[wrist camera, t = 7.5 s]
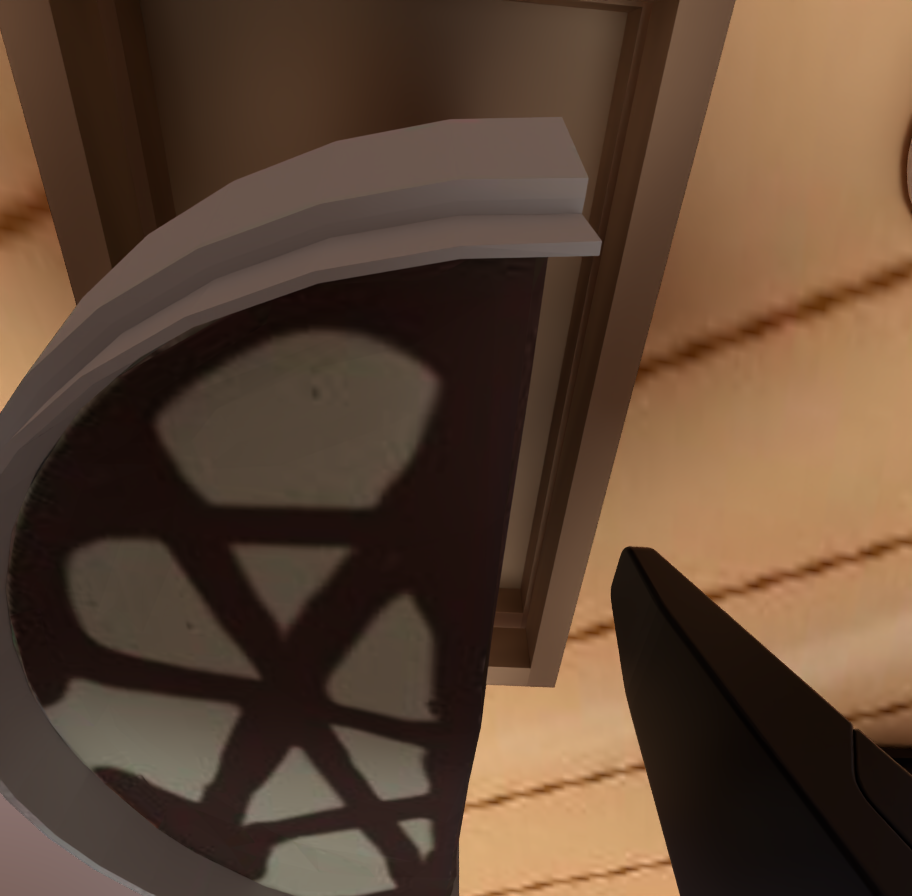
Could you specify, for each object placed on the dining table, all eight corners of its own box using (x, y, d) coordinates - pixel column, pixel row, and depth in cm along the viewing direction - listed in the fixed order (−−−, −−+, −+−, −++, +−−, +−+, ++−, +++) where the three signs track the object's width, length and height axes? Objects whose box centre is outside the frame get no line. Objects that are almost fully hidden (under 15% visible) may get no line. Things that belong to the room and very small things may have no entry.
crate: (665, -30, 11) (755, -76, 8) (537, 585, 20) (554, 687, 17) (104, -86, 11) (-52, -160, 7) (224, 569, 20) (178, 671, 16)
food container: (181, 67, 11) (-621, 37, 3) (497, 94, 12) (624, 138, 3) (253, 548, 18) (74, 971, 9) (454, 558, 18) (456, 977, 10)
